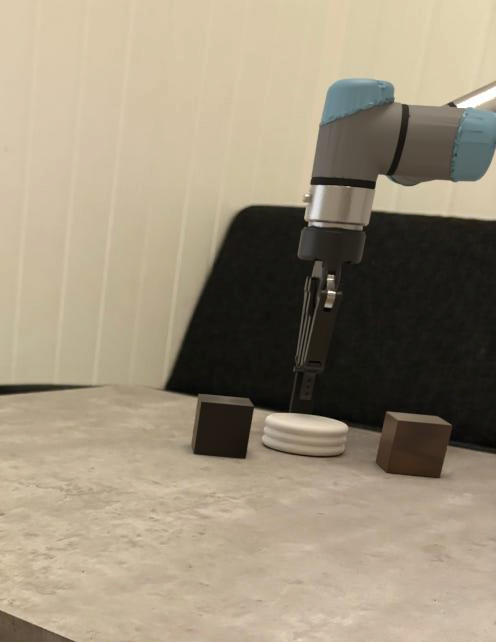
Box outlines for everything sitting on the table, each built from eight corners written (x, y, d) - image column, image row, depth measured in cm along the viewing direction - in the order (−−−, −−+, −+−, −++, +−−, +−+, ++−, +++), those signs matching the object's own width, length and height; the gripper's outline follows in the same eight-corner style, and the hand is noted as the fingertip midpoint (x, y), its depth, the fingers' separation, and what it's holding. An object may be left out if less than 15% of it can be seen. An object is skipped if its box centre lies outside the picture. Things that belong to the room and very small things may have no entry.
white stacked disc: (245, 443, 126) (249, 414, 124) (291, 437, 132) (296, 410, 131) (313, 460, 119) (319, 430, 118) (359, 453, 125) (365, 425, 124)
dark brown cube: (240, 448, 122) (249, 398, 120) (245, 458, 117) (254, 406, 114) (191, 443, 123) (198, 393, 120) (193, 453, 117) (201, 401, 115)
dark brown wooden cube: (426, 466, 121) (438, 416, 118) (440, 478, 115) (452, 425, 113) (375, 461, 121) (386, 411, 119) (386, 472, 115) (398, 420, 113)
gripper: (295, 224, 127) (263, 412, 136) (311, 224, 115) (274, 430, 124) (356, 229, 126) (319, 418, 136) (378, 229, 115) (336, 436, 124)
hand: (298, 424), depth 130 cm, fingers closed
